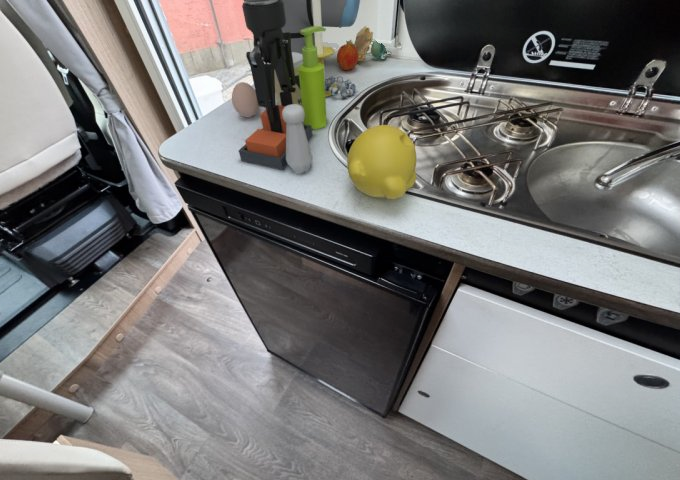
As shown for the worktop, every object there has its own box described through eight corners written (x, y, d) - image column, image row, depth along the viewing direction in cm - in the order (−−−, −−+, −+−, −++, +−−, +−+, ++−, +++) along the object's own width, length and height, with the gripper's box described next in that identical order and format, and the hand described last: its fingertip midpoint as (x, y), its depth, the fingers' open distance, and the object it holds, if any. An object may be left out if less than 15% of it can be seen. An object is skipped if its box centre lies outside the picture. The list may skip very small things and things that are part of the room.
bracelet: (334, 79, 92) (336, 71, 90) (361, 91, 89) (362, 84, 88) (316, 88, 86) (317, 80, 85) (344, 101, 84) (345, 94, 83)
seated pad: (261, 144, 72) (257, 128, 68) (290, 150, 69) (288, 134, 66) (249, 156, 69) (244, 140, 65) (279, 163, 66) (276, 146, 63)
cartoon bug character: (343, 69, 108) (378, 75, 113) (365, 52, 92) (405, 61, 97) (345, 37, 105) (381, 46, 110) (368, 15, 89) (409, 25, 94)
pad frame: (274, 128, 77) (272, 118, 75) (312, 135, 74) (311, 125, 72) (241, 161, 69) (238, 150, 67) (283, 170, 66) (281, 159, 64)
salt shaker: (282, 172, 65) (271, 111, 55) (294, 158, 68) (286, 98, 58) (306, 177, 64) (299, 116, 53) (317, 163, 67) (312, 102, 56)
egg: (252, 107, 85) (244, 75, 79) (267, 115, 82) (260, 81, 76) (231, 116, 83) (221, 83, 76) (246, 124, 79) (237, 91, 73)
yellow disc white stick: (298, 90, 91) (284, -35, 69) (323, 80, 94) (316, -41, 73) (319, 100, 86) (311, -31, 64) (344, 89, 89) (344, -38, 68)
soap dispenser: (334, 123, 77) (331, 27, 62) (311, 131, 75) (302, 35, 60) (322, 115, 81) (316, 22, 65) (300, 122, 79) (289, 28, 63)
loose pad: (274, 120, 74) (271, 104, 71) (303, 125, 72) (301, 108, 69) (263, 131, 71) (259, 114, 68) (292, 137, 69) (290, 119, 66)
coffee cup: (304, 115, 81) (298, 65, 71) (272, 114, 82) (262, 64, 73) (312, 100, 86) (308, 51, 77) (281, 99, 88) (274, 51, 78)
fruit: (355, 64, 101) (356, 35, 95) (359, 72, 97) (360, 42, 91) (335, 66, 101) (335, 38, 94) (338, 74, 97) (338, 45, 90)
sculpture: (418, 192, 47) (377, 113, 44) (357, 223, 55) (319, 158, 52) (438, 169, 58) (406, 105, 55) (385, 198, 66) (355, 143, 63)
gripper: (252, 14, 47) (278, 150, 65) (303, -12, 57) (313, 112, 75) (214, 12, 49) (250, 144, 67) (269, -13, 59) (287, 108, 77)
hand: (283, 127), depth 71 cm, fingers closed on loose pad, 5 cm apart
